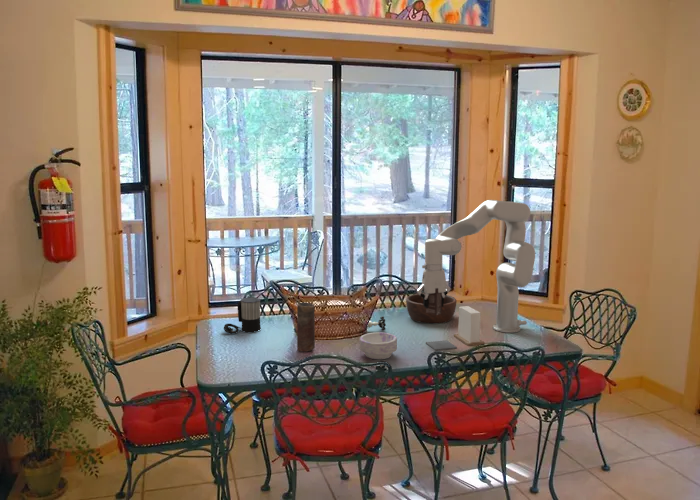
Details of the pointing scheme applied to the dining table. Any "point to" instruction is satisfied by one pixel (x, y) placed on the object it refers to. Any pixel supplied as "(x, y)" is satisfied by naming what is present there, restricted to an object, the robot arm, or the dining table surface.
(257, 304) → the milk frother
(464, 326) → the mounted unit
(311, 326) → the candle
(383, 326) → the valve
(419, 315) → the wooden bowl
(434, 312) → the box
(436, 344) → the slate mat
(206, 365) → the dining table surface
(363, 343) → the white bowl
